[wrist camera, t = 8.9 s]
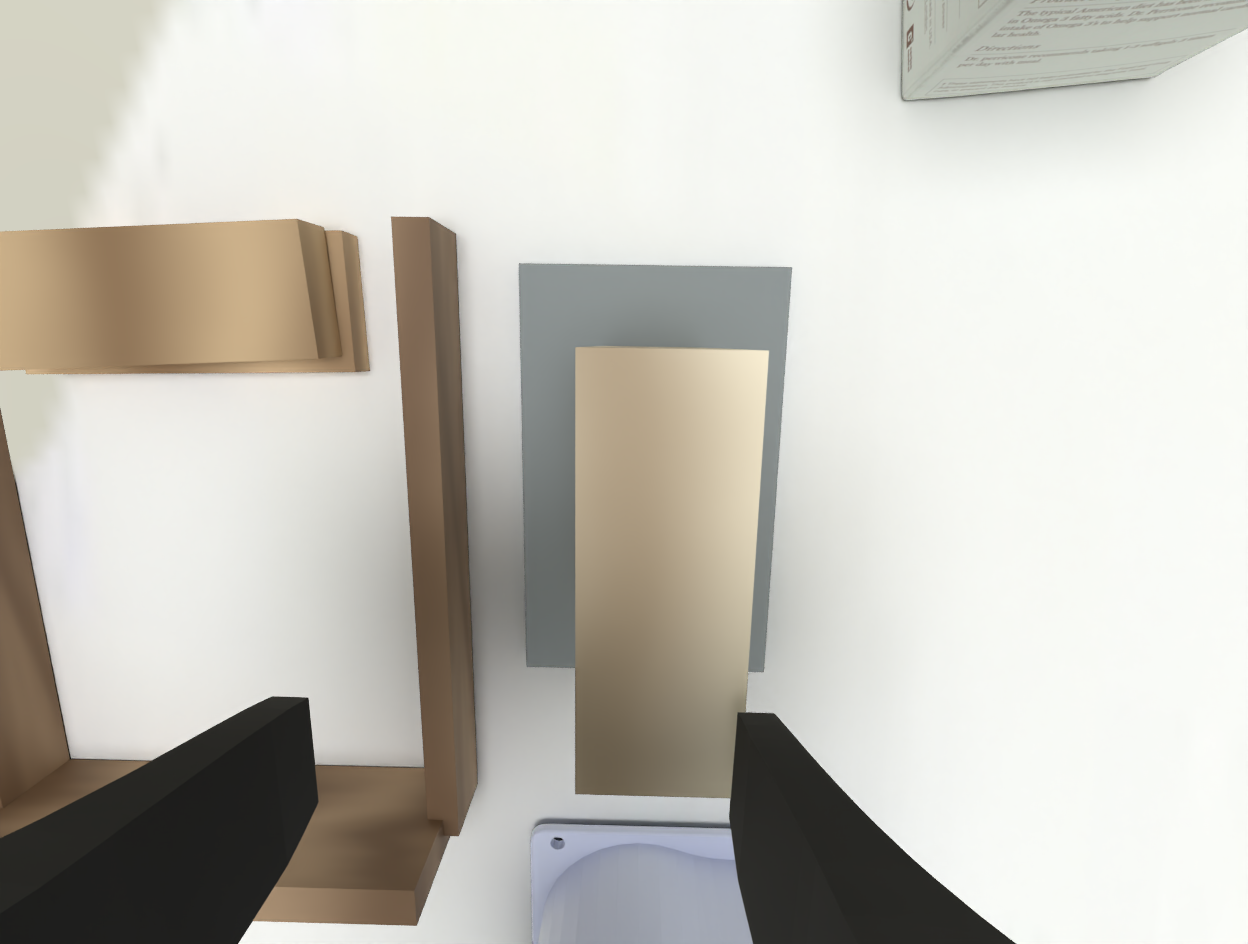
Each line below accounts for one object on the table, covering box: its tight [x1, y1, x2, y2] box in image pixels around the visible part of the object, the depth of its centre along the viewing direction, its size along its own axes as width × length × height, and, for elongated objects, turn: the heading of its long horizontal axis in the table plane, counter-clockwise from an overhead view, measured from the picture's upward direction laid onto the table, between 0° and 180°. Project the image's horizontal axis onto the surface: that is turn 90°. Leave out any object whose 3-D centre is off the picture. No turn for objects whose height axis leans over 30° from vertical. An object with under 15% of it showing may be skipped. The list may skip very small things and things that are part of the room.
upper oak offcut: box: [0, 219, 342, 371], centre depth 17 cm, size 9×4×1 cm, turn 92°
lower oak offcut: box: [26, 231, 370, 374], centre depth 19 cm, size 10×4×2 cm, turn 90°
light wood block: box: [575, 346, 769, 798], centre depth 15 cm, size 3×8×9 cm, turn 179°
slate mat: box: [519, 263, 792, 672], centre depth 19 cm, size 8×13×1 cm, turn 179°
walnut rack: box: [0, 217, 478, 926], centre depth 18 cm, size 16×20×5 cm
